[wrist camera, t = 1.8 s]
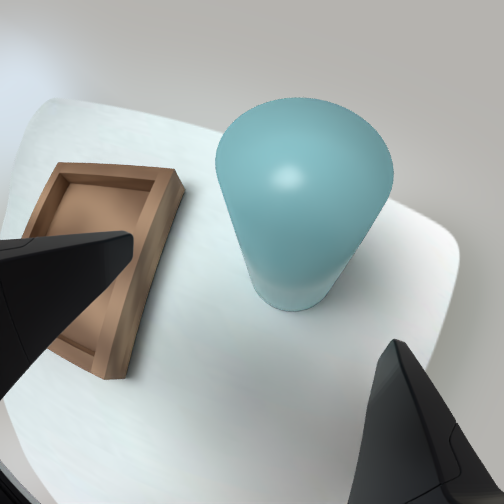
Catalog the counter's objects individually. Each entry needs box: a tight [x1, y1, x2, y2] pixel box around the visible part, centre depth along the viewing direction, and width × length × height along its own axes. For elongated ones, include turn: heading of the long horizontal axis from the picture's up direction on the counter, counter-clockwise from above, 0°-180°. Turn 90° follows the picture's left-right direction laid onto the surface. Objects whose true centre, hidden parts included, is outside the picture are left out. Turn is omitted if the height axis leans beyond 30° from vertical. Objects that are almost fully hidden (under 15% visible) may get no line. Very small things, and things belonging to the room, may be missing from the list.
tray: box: [21, 162, 185, 380], centre depth 21 cm, size 16×14×3 cm
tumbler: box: [215, 98, 394, 311], centre depth 15 cm, size 6×6×12 cm
